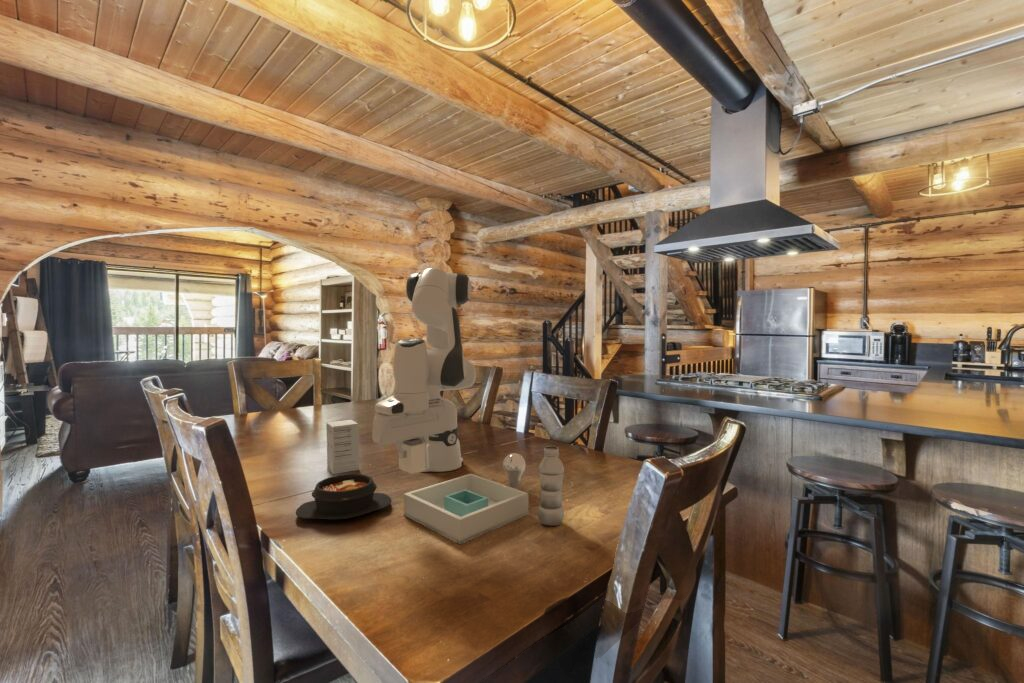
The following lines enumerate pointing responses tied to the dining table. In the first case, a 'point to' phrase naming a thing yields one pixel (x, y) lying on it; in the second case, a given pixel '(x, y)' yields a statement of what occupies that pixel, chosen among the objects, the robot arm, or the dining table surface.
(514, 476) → the light bulb
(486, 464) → the dining table surface
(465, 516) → the walled box
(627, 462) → the dining table surface
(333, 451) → the supplement box
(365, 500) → the casserole
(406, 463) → the grey-topped white block
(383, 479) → the dining table surface
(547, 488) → the plastic bottle
